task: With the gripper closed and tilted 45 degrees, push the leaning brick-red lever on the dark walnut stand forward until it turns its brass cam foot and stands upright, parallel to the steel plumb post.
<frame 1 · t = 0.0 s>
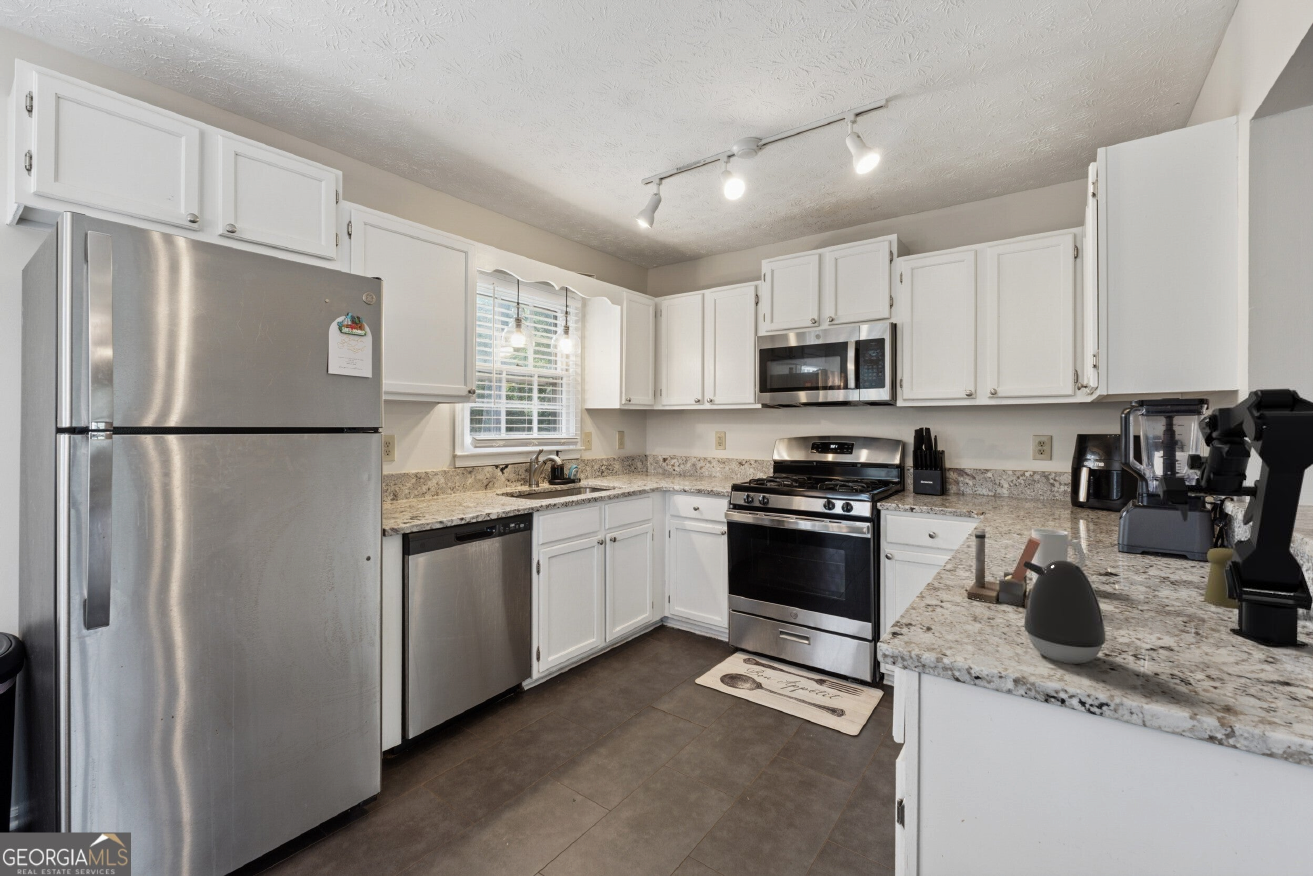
hand: (1213, 522, 118), 15 cm above the worktop, tool tilted 35°, fingers open, 9 cm apart
mug: (1057, 586, 124), on the worktop
pump dispenser: (1062, 658, 87), on the worktop
adjuster lever: (1022, 567, 114), point 7 cm above the worktop, hinge at -20.0°
olive tapered cylinder: (1224, 604, 111), on the worktop
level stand: (1013, 598, 115), on the worktop
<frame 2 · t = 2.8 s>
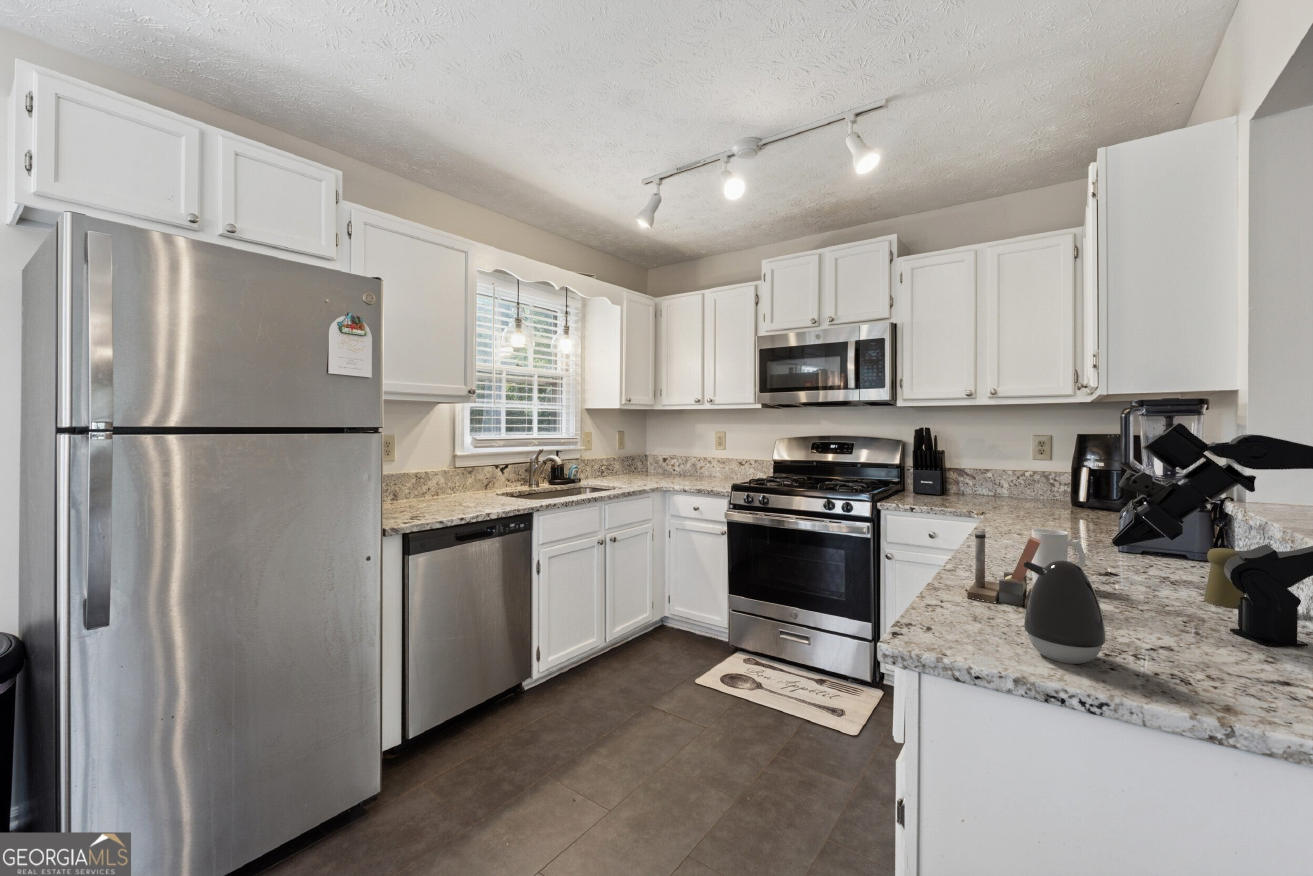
hand: (1113, 543, 105), 14 cm above the worktop, tool tilted 45°, fingers closed
nothing on the worktop moved.
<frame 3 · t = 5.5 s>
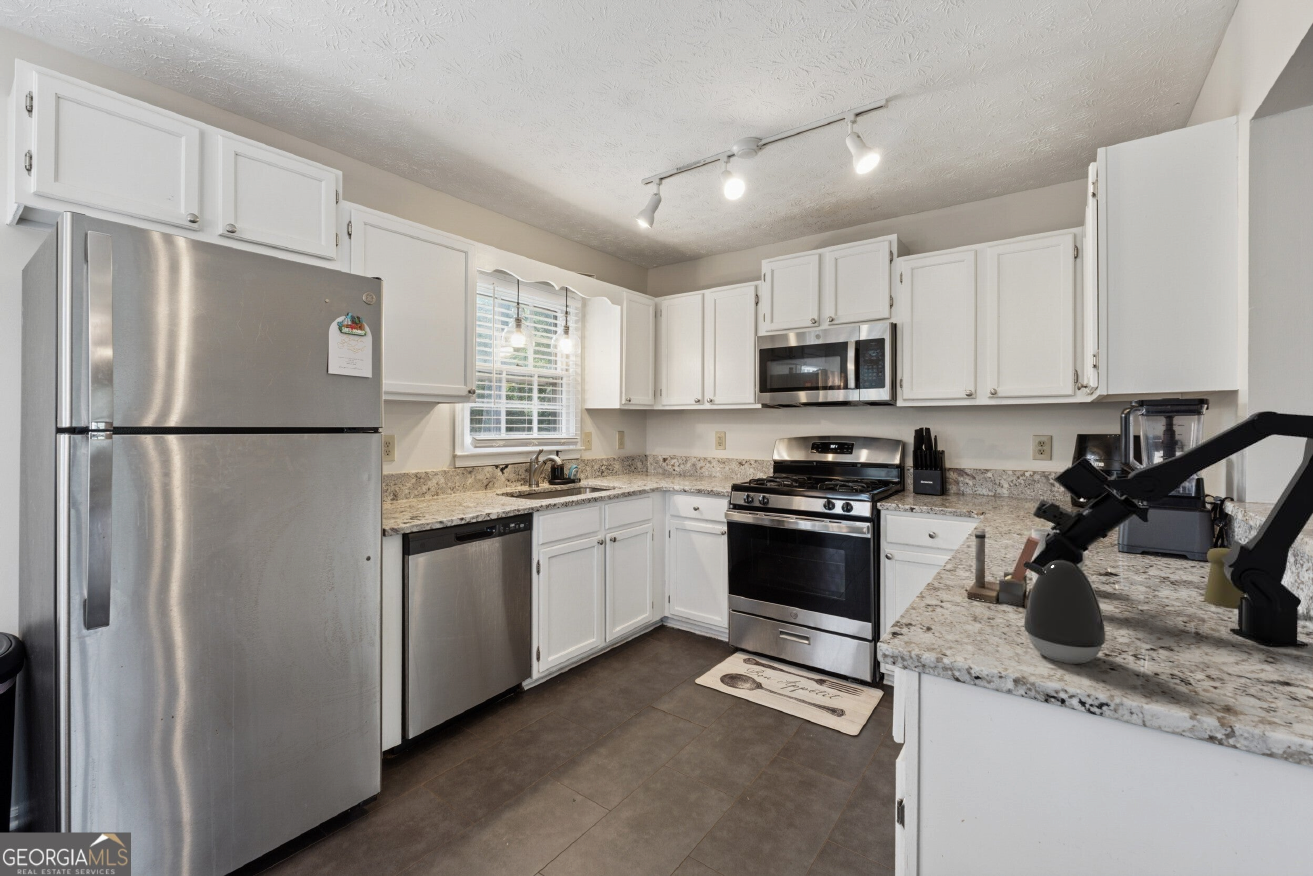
hand: (1030, 567, 113), 7 cm above the worktop, tool tilted 45°, fingers closed, pressing on adjuster lever
adjuster lever: (1021, 567, 114), point 7 cm above the worktop, hinge at -18.6°, touching gripper
everything else where it was.
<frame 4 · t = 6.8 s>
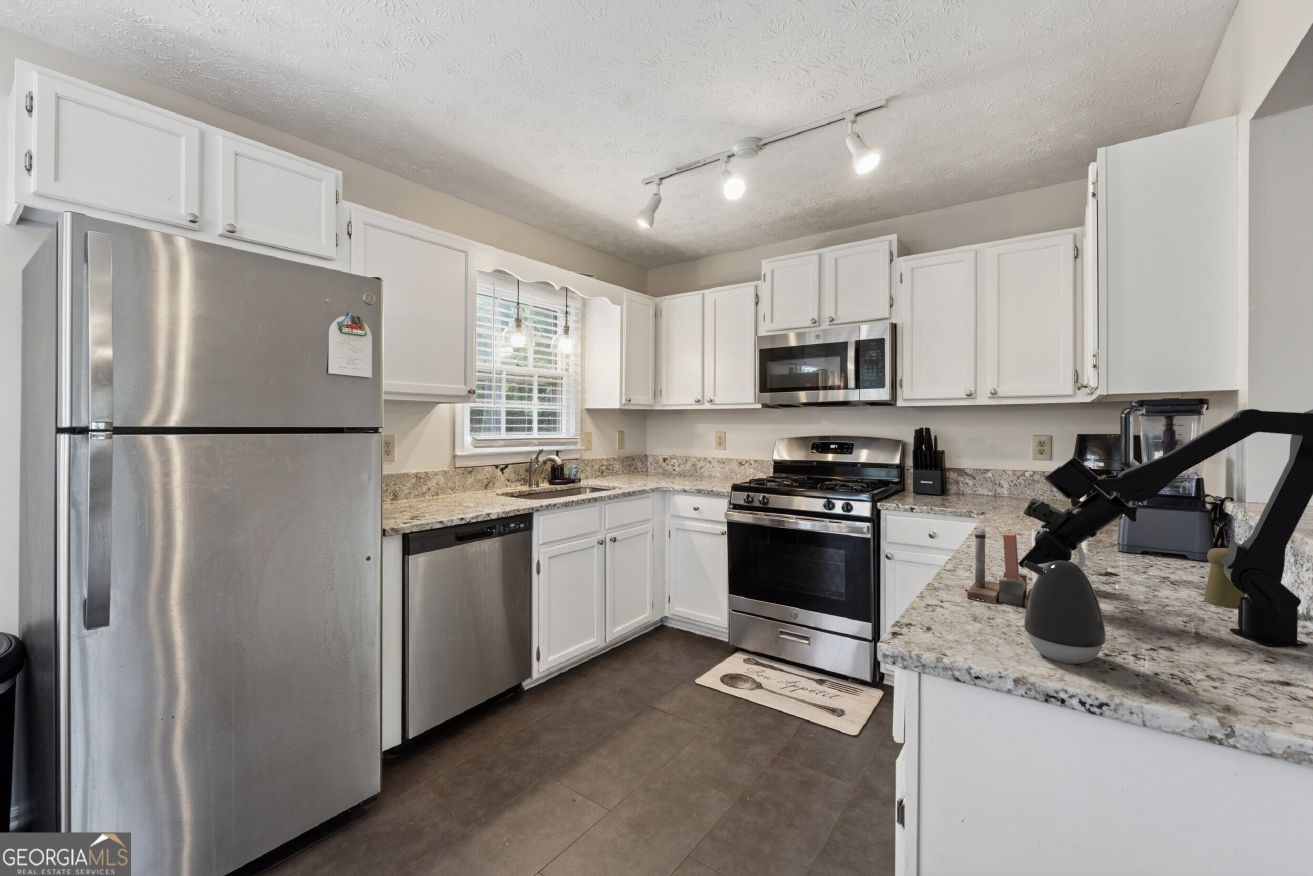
hand: (1020, 565, 114), 7 cm above the worktop, tool tilted 45°, fingers closed
adjuster lever: (1011, 565, 115), point 7 cm above the worktop, hinge at 3.4°
everything else where it was.
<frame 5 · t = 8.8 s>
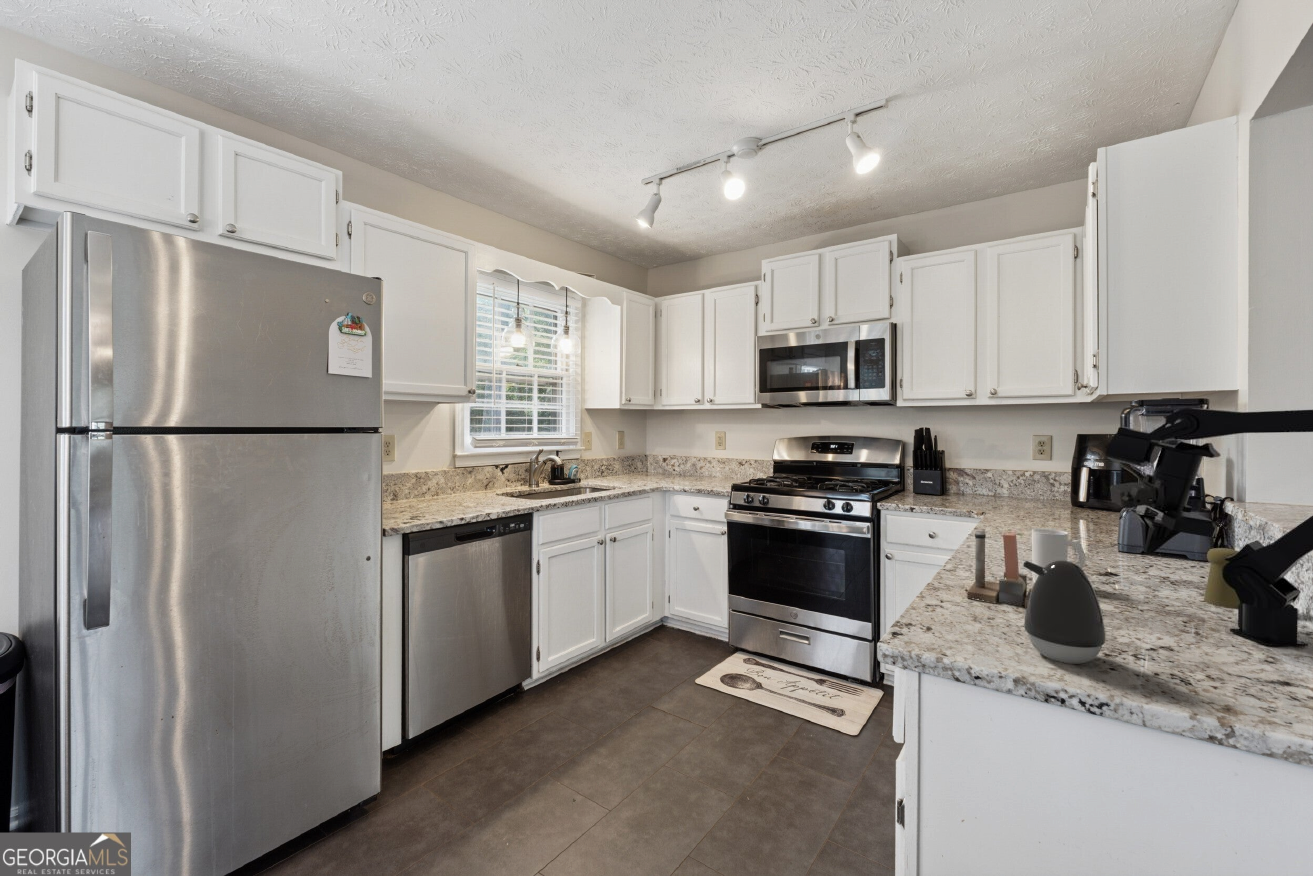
hand: (1147, 552, 106), 12 cm above the worktop, tool pointing down, fingers closed
nothing on the worktop moved.
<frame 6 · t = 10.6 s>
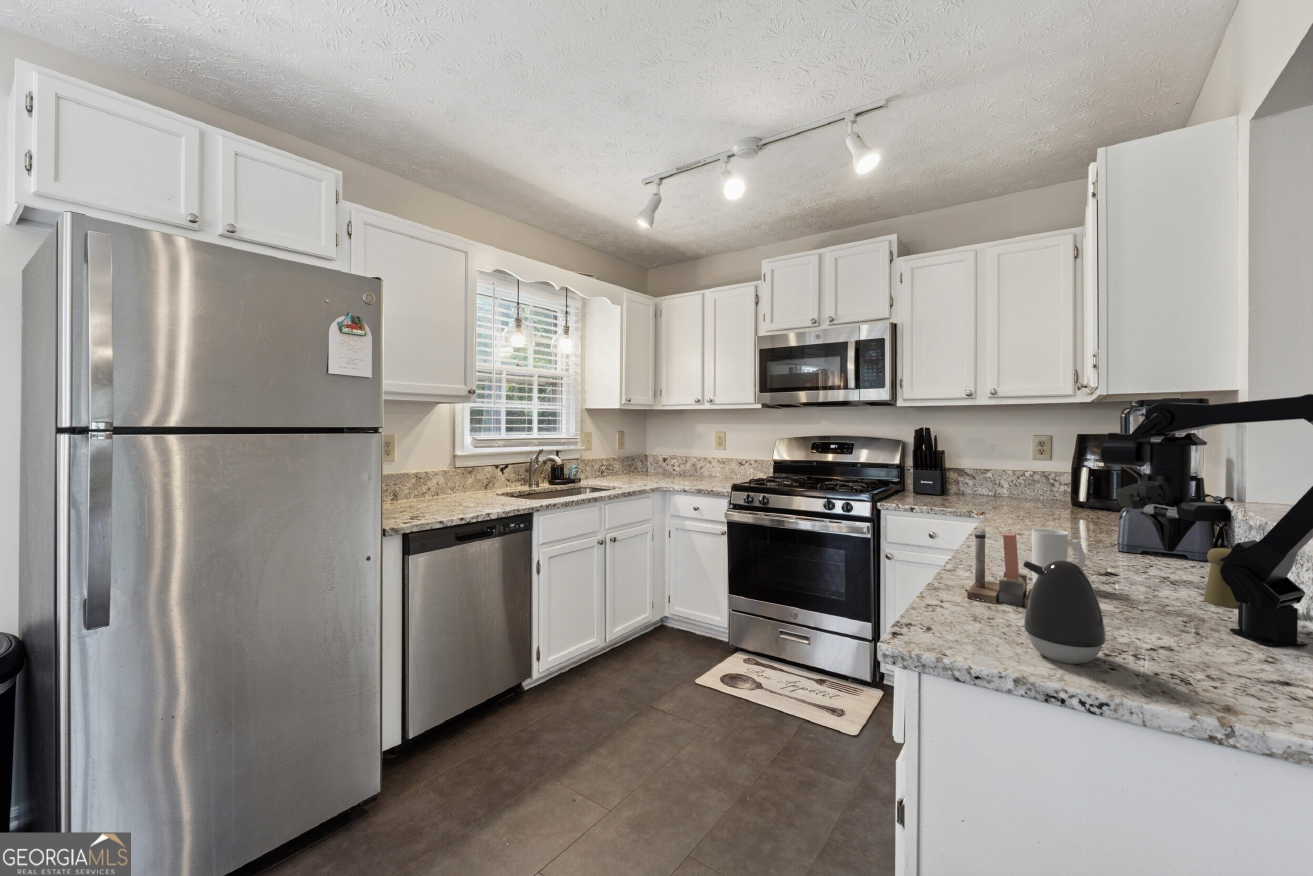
hand: (1169, 551, 105), 12 cm above the worktop, tool pointing down, fingers closed
nothing on the worktop moved.
at the end: adjuster lever at +4° (first picture: -20°); the gripper is holding nothing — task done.
